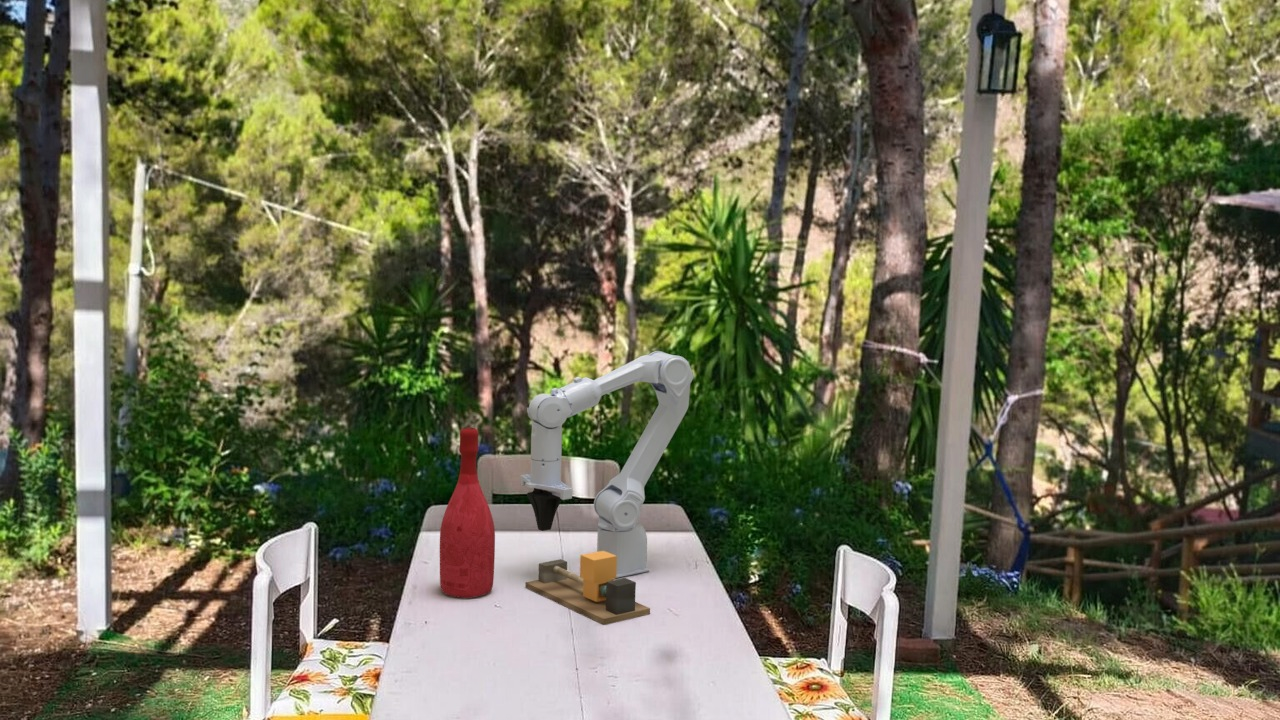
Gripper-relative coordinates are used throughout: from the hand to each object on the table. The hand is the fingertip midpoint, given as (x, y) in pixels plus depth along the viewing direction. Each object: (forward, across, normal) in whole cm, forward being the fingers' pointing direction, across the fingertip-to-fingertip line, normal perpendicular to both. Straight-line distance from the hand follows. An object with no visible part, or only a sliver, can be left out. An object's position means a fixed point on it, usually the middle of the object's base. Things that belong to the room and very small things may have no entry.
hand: (544, 529), depth 211 cm
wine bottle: (+10, -1, -16) cm, 19 cm away
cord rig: (+9, +15, -1) cm, 18 cm away
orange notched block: (+8, +19, -1) cm, 20 cm away
